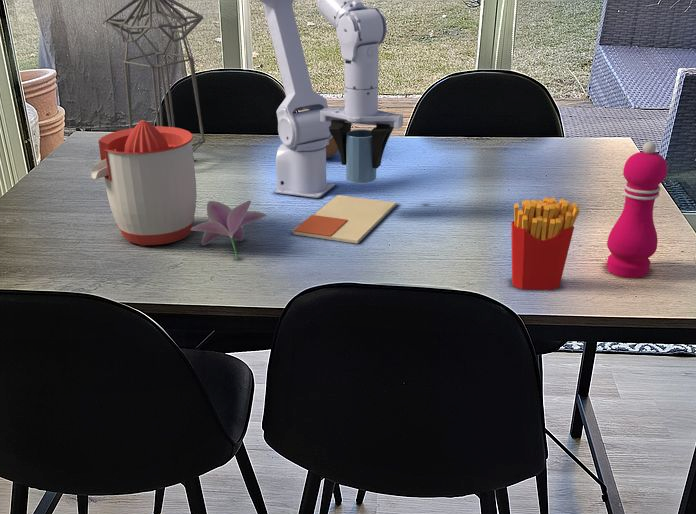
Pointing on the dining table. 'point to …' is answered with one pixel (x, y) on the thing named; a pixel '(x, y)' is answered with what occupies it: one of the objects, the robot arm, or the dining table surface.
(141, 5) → the geometric lantern
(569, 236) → the french fries
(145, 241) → the citrus juicer
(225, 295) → the dining table surface
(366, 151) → the tumbler
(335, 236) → the cutting board
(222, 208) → the lily
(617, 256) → the pepper mill
